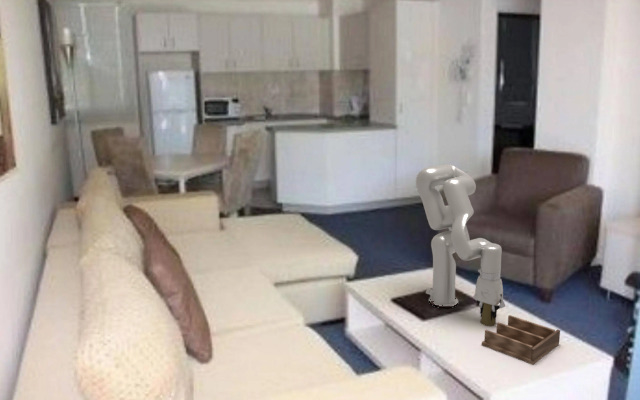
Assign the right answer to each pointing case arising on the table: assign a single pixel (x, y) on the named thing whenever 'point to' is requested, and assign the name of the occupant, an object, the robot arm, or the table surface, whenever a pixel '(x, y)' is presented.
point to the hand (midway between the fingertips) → (488, 317)
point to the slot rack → (522, 339)
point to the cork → (487, 315)
